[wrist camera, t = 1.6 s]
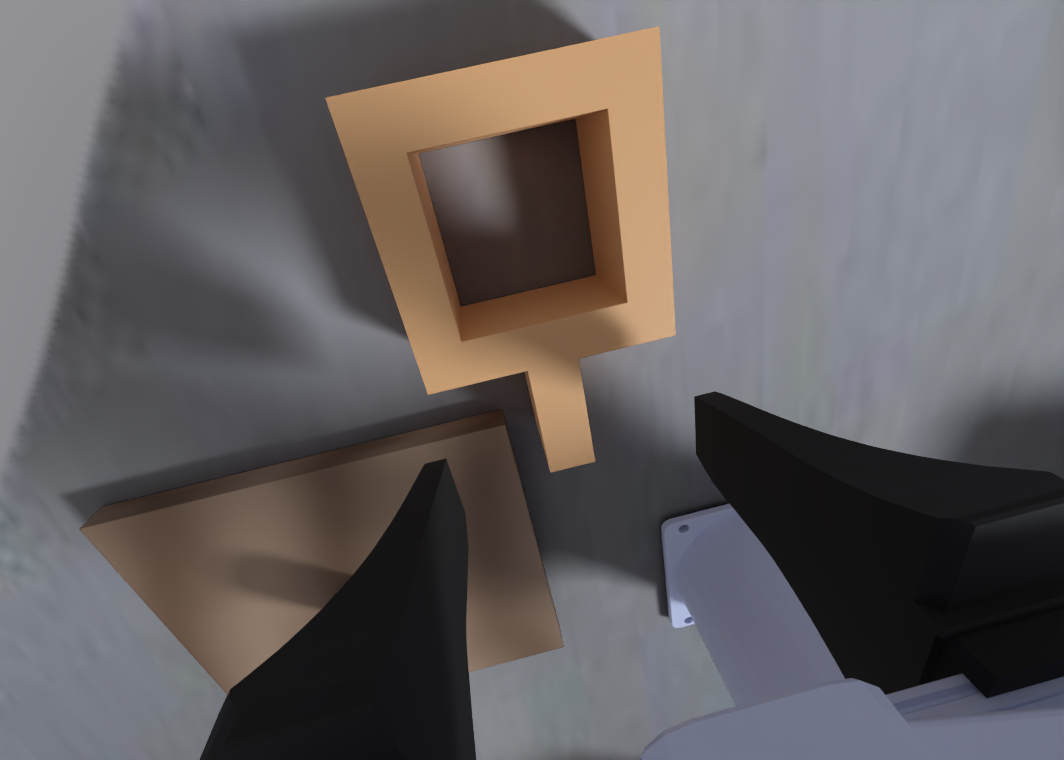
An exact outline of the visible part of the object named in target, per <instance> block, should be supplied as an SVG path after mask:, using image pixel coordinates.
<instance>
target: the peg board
mask: <svg viewBox="0 0 1064 760" xmlns="http://www.w3.org/2000/svg"><path fill="white" fill-rule="evenodd" d="M442 459H447V462H448V465H449V468H450V471H451V473H452V476H453V479H454V482H455V485H456V488H457V490H458V493H459V496H460V499H461V502H462V505H463V507H464V510H465V514H466V524H467V534H468V545H469V547H468V584H467V615H466V640H467V655H468V670H469V672H472V671H476V670H479V669H483V668H487V667H491V666H494V665H498V664H502V663H506V662H509V661H513V660H517V659H521V658H524V657H528V656H532V655H536V654H539V653H543V652H547V651H551V650H554V649H558V648H562V647H564V645H563V640H562V635H561V631H560V626H559V622H558V618H557V614H556V611H555V607H554V603H553V599H552V596H551V592H550V588H549V584H548V580H547V577H546V573H545V569H544V565H543V561H542V558H541V554H540V550H539V546H538V542H537V539H536V535H535V531H534V527H533V523H532V520H531V516H530V512H529V508H528V504H527V501H526V497H525V493H524V489H523V485H522V482H521V478H520V474H519V470H518V467H517V463H516V459H515V455H514V451H513V448H512V444H511V440H510V436H509V432H508V429H507V425H506V421H505V417H504V413H503V410H502V409H501V410H497V411H493V412H489V413H485V414H480V415H476V416H472V417H468V418H464V419H460V420H456V421H452V422H448V423H444V424H439V425H435V426H431V427H427V428H423V429H419V430H415V431H411V432H407V433H402V434H398V435H394V436H390V437H386V438H382V439H378V440H374V441H370V442H366V443H361V444H357V445H353V446H349V447H345V448H341V449H337V450H333V451H329V452H325V453H320V454H316V455H312V456H308V457H304V458H300V459H296V460H292V461H288V462H283V463H279V464H275V465H271V466H267V467H263V468H259V469H255V470H251V471H247V472H242V473H238V474H234V475H230V476H226V477H222V478H218V479H214V480H210V481H206V482H201V483H197V484H193V485H189V486H185V487H181V488H177V489H173V490H169V491H164V492H160V493H156V494H152V495H148V496H144V497H140V498H136V499H132V500H128V501H123V502H119V503H115V504H111V505H107V506H103V507H101V508H100V509H99V510H98V511H97V512H96V513H95V514H94V515H93V516H92V517H91V518H90V519H89V520H88V521H87V522H86V523H85V524H84V525H83V526H82V527H81V528H80V529H79V530H80V531H81V532H82V533H83V534H84V535H85V536H86V538H87V539H88V540H89V541H90V542H91V543H92V544H93V545H94V546H95V548H96V549H97V550H98V551H99V552H100V553H101V554H102V555H103V557H104V558H105V559H106V560H107V561H108V562H109V563H110V564H111V565H112V567H113V568H114V569H115V570H116V571H117V572H118V573H119V574H120V575H121V577H122V578H123V579H124V580H125V581H126V582H127V583H128V584H129V586H130V587H131V588H132V589H133V590H134V591H135V592H136V593H137V594H138V596H139V597H140V598H141V599H142V600H143V601H144V602H145V603H146V605H147V606H148V607H149V608H150V609H151V610H152V611H153V612H154V613H155V615H156V616H157V617H158V618H159V619H160V620H161V621H162V622H163V624H164V625H165V626H166V627H167V628H168V629H169V630H170V631H171V632H172V634H173V635H174V636H175V637H176V638H177V639H178V640H179V641H180V643H181V644H182V645H183V646H184V647H185V648H186V649H187V650H188V651H189V653H190V654H191V655H192V656H193V657H194V658H195V659H196V660H197V662H198V663H199V664H200V665H201V666H202V667H203V668H204V669H205V670H206V672H207V673H208V674H209V675H210V676H211V677H212V678H213V679H214V681H215V682H216V683H217V684H218V685H219V686H220V687H221V688H222V689H223V691H224V692H225V693H226V694H227V695H228V693H229V691H230V689H231V688H232V687H234V686H235V685H236V684H238V683H239V682H240V681H241V680H243V679H244V678H245V677H246V676H247V675H249V674H250V673H251V672H252V671H253V670H255V669H256V668H257V667H258V666H260V665H261V664H262V663H263V662H264V661H266V660H267V659H268V658H269V657H270V656H272V655H273V654H274V653H275V652H276V651H278V650H279V649H280V648H281V647H282V646H283V645H284V644H285V643H287V642H288V641H289V640H290V639H291V638H292V637H293V636H294V635H295V634H296V633H297V632H299V631H300V630H301V629H302V628H303V627H304V626H305V625H306V624H307V623H308V622H309V621H310V620H311V619H312V618H313V617H314V616H315V615H316V614H317V613H318V612H319V611H320V610H321V609H322V608H323V607H324V606H325V605H326V604H327V603H328V602H329V601H330V599H331V598H332V597H333V596H334V595H335V594H336V593H337V592H338V591H339V590H340V589H341V588H342V586H343V585H344V584H345V583H346V582H347V581H348V580H349V579H350V578H351V576H352V575H353V574H354V573H355V572H356V570H357V569H358V568H359V567H360V565H361V564H362V563H363V562H364V560H365V559H366V558H367V557H368V555H369V554H370V552H371V551H372V550H373V548H374V547H375V546H376V544H377V543H378V541H379V540H380V538H381V537H382V535H383V534H384V532H385V531H386V529H387V528H388V526H389V525H390V523H391V521H392V520H393V518H394V517H395V515H396V513H397V512H398V510H399V508H400V506H401V505H402V503H403V501H404V500H405V498H406V496H407V494H408V493H409V491H410V489H411V487H412V485H413V484H414V482H415V480H416V478H417V476H418V474H419V472H420V471H421V469H422V467H423V466H424V464H426V463H430V462H434V461H438V460H442Z"/></svg>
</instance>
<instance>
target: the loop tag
mask: <svg viewBox="0 0 1064 760" xmlns="http://www.w3.org/2000/svg"><path fill="white" fill-rule="evenodd" d="M325 99H326V101H327V104H328V107H329V110H330V113H331V116H332V119H333V122H334V125H335V127H336V130H337V133H338V136H339V139H340V142H341V145H342V148H343V151H344V153H345V156H346V159H347V162H348V165H349V168H350V171H351V174H352V177H353V179H354V182H355V185H356V188H357V191H358V194H359V197H360V200H361V203H362V206H363V208H364V211H365V214H366V217H367V220H368V223H369V226H370V229H371V232H372V234H373V237H374V240H375V243H376V246H377V249H378V252H379V255H380V258H381V260H382V263H383V266H384V269H385V272H386V275H387V278H388V281H389V284H390V286H391V289H392V292H393V295H394V298H395V301H396V304H397V307H398V310H399V312H400V315H401V318H402V321H403V324H404V327H405V330H406V333H407V336H408V338H409V341H410V344H411V347H412V350H413V353H414V356H415V359H416V362H417V364H418V367H419V370H420V373H421V376H422V379H423V382H424V385H425V388H426V390H427V393H428V395H430V394H434V393H438V392H442V391H446V390H450V389H455V388H459V387H463V386H467V385H471V384H475V383H479V382H484V381H488V380H492V379H496V378H500V377H504V376H509V375H513V374H517V373H521V372H525V376H526V381H527V385H528V390H529V394H530V398H531V403H532V407H533V412H534V416H535V421H536V424H537V427H538V431H539V434H540V438H541V441H542V445H543V448H544V452H545V455H546V459H547V462H548V466H549V469H550V473H552V472H556V471H560V470H564V469H568V468H572V467H576V466H580V465H584V464H588V463H592V462H595V456H594V450H593V444H592V438H591V432H590V426H589V419H588V413H587V407H586V401H585V395H584V389H583V383H582V377H581V370H580V364H579V358H583V357H587V356H592V355H596V354H600V353H604V352H608V351H612V350H616V349H621V348H625V347H629V346H633V345H637V344H641V343H646V342H650V341H654V340H658V339H662V338H666V337H670V336H675V335H676V331H675V312H674V293H673V274H672V255H671V237H670V218H669V199H668V180H667V161H666V142H665V123H664V104H663V85H662V66H661V47H660V28H659V27H654V28H650V29H645V30H640V31H635V32H631V33H626V34H621V35H617V36H612V37H607V38H603V39H598V40H593V41H589V42H584V43H579V44H574V45H570V46H565V47H560V48H556V49H551V50H546V51H542V52H537V53H532V54H528V55H523V56H518V57H513V58H509V59H504V60H499V61H495V62H490V63H485V64H481V65H476V66H471V67H467V68H462V69H457V70H452V71H448V72H443V73H438V74H434V75H429V76H424V77H420V78H415V79H410V80H406V81H401V82H396V83H391V84H387V85H382V86H377V87H373V88H368V89H363V90H359V91H354V92H349V93H344V94H340V95H335V96H330V97H326V98H325ZM573 119H576V127H577V134H578V142H579V149H580V157H581V165H582V172H583V180H584V188H585V195H586V203H587V210H588V218H589V226H590V233H591V241H592V248H593V256H594V264H595V271H596V275H594V276H590V277H586V278H581V279H577V280H573V281H569V282H564V283H560V284H556V285H551V286H547V287H543V288H539V289H534V290H530V291H526V292H521V293H517V294H513V295H509V296H504V297H500V298H496V299H492V300H487V301H483V302H479V303H474V304H470V305H466V306H462V307H461V305H460V302H459V298H458V295H457V291H456V287H455V284H454V280H453V277H452V273H451V269H450V266H449V262H448V259H447V255H446V252H445V248H444V244H443V241H442V237H441V234H440V230H439V226H438V223H437V219H436V216H435V212H434V209H433V205H432V201H431V198H430V194H429V191H428V187H427V183H426V180H425V176H424V173H423V169H422V166H421V162H420V158H419V155H418V153H422V152H427V151H431V150H436V149H441V148H445V147H450V146H454V145H459V144H463V143H468V142H472V141H477V140H482V139H486V138H491V137H495V136H500V135H504V134H509V133H513V132H518V131H523V130H527V129H532V128H536V127H541V126H545V125H550V124H554V123H559V122H564V121H568V120H573Z"/></svg>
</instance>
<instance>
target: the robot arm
mask: <svg viewBox="0 0 1064 760" xmlns="http://www.w3.org/2000/svg"><path fill="white" fill-rule="evenodd" d="M694 398H695V429H696V454H697V456H698V458H699V460H700V461H701V463H702V465H703V467H704V468H705V470H706V472H707V473H708V475H709V477H710V478H711V480H712V482H713V483H714V484H715V486H716V487H717V488H718V490H719V491H720V492H721V493H722V495H723V496H724V497H725V498H726V500H727V501H728V502H729V504H726V505H722V506H718V507H714V508H710V509H706V510H702V511H698V512H695V513H691V514H687V515H683V516H679V517H675V518H671V519H668V520H666V521H665V522H664V523H663V524H662V527H661V533H662V545H663V556H664V568H665V579H666V591H667V602H668V614H669V620H670V623H671V625H672V626H673V627H675V628H681V627H685V626H689V625H692V624H695V625H696V627H697V629H698V631H699V633H700V635H701V637H702V639H703V641H704V643H705V645H706V647H707V649H708V651H709V653H710V655H711V657H712V659H713V661H714V663H715V665H716V667H717V669H718V671H719V673H720V675H721V677H722V679H723V681H724V683H725V685H726V687H727V689H728V691H729V693H730V695H731V697H732V699H733V701H734V703H735V705H736V707H732V708H729V709H725V710H722V711H718V712H714V713H711V714H707V715H704V716H700V717H697V718H693V719H690V720H688V721H686V722H683V723H681V724H679V725H676V726H674V727H672V728H669V729H667V730H665V731H663V732H662V733H661V734H660V735H659V736H657V737H656V738H655V739H654V740H653V741H652V742H651V743H649V744H648V745H647V746H646V747H645V749H644V751H643V753H642V756H641V759H640V760H1064V479H1062V478H1060V477H1058V476H1057V475H1055V474H1053V473H1050V472H1044V471H1034V470H1023V469H1012V468H1001V467H990V466H981V465H973V464H966V463H959V462H952V461H945V460H938V459H932V458H927V457H921V456H915V455H910V454H906V453H901V452H896V451H891V450H886V449H882V448H877V447H873V446H869V445H865V444H861V443H858V442H854V441H850V440H847V439H843V438H839V437H836V436H833V435H829V434H826V433H823V432H820V431H817V430H814V429H811V428H808V427H805V426H802V425H800V424H797V423H794V422H791V421H789V420H786V419H784V418H781V417H778V416H776V415H773V414H771V413H768V412H766V411H763V410H761V409H758V408H756V407H754V406H751V405H749V404H746V403H744V402H741V401H739V400H737V399H734V398H732V397H729V396H726V395H724V394H721V393H718V392H711V393H707V394H703V395H699V396H695V397H694ZM682 525H683V526H682ZM681 526H682V527H681ZM468 547H469V545H468V534H467V524H466V514H465V510H464V507H463V505H462V502H461V499H460V496H459V493H458V490H457V488H456V485H455V482H454V479H453V476H452V473H451V471H450V468H449V465H448V462H447V459H442V460H438V461H434V462H430V463H426V464H424V466H423V467H422V469H421V471H420V472H419V474H418V476H417V478H416V480H415V482H414V484H413V485H412V487H411V489H410V491H409V493H408V494H407V496H406V498H405V500H404V501H403V503H402V505H401V506H400V508H399V510H398V512H397V513H396V515H395V517H394V518H393V520H392V521H391V523H390V525H389V526H388V528H387V529H386V531H385V532H384V534H383V535H382V537H381V538H380V540H379V541H378V543H377V544H376V546H375V547H374V548H373V550H372V551H371V552H370V554H369V555H368V557H367V558H366V559H365V560H364V562H363V563H362V564H361V565H360V567H359V568H358V569H357V570H356V572H355V573H354V574H353V575H352V576H351V578H350V579H349V580H348V581H347V582H346V583H345V584H344V585H343V586H342V588H341V589H340V590H339V591H338V592H337V593H336V594H335V595H334V596H333V597H332V598H331V599H330V601H329V602H328V603H327V604H326V605H325V606H324V607H323V608H322V609H321V610H320V611H319V612H318V613H317V614H316V615H315V616H314V617H313V618H312V619H311V620H310V621H309V622H308V623H307V624H306V625H305V626H304V627H303V628H302V629H301V630H300V631H299V632H297V633H296V634H295V635H294V636H293V637H292V638H291V639H290V640H289V641H288V642H287V643H285V644H284V645H283V646H282V647H281V648H280V649H279V650H278V651H276V652H275V653H274V654H273V655H272V656H270V657H269V658H268V659H267V660H266V661H264V662H263V663H262V664H261V665H260V666H258V667H257V668H256V669H255V670H253V671H252V672H251V673H250V674H249V675H247V676H246V677H245V678H244V679H243V680H241V681H240V682H239V683H238V684H236V685H235V686H234V687H232V688H231V689H230V691H229V693H228V695H227V697H226V699H225V701H224V704H223V706H222V708H221V710H220V712H219V715H218V717H217V719H216V722H215V724H214V727H213V729H212V731H211V734H210V736H209V739H208V741H207V743H206V746H205V748H204V750H203V753H202V755H201V758H200V760H476V752H475V742H474V731H473V720H472V708H471V696H470V683H469V670H468V655H467V640H466V615H467V584H468Z"/></svg>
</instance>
